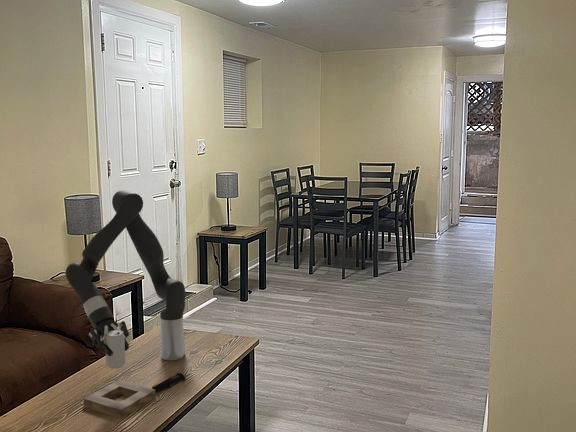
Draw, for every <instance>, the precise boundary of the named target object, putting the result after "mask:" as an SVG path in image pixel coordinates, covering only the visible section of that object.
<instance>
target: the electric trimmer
mask: <svg viewBox="0 0 576 432" xmlns="http://www.w3.org/2000/svg"><path fill="white" fill-rule="evenodd" d="M185 380H186V376H185V375H184V374H183V373H181V372H177V373H175V374H174V375H173V376H170V377H168V378H167V379H165V380H162V381H161V382H160V383H157V384H156V385H154V386H152V387H151V389H155V393H158V392H162V391H164V390H167V389H170V388H171V386H172V385H175V384H177V383H179V382H181V381H185Z"/></svg>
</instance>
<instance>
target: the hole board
mask: <svg viewBox="0 0 576 432" xmlns="http://www.w3.org/2000/svg"><path fill="white" fill-rule="evenodd" d="M119 395H121V396H125V397H127V398H125V399H124V400H122V401H118V400H115V399H114V398H116V397H117V396H119ZM154 399H156V392H155V389H152V387H147V386H143V385H140V384H136V383H132V382H129V381H125V380H121V379H118V380H115V381H114V382H112V383H110V384H109V385H106V386H104V387H103V388H101V389H99V390H97V391H95V392H93V393H91V394H89V395H87V396H86V397H84V398H83V399H82V400H83V408H87V409H90V410H93V411H96V412H100V413H103V414H105V415H106V414H107V415H109V416H112V417H115V418H118V419H123V418H125V417H126V416H127V415H130V414H131V413H132V412H134V411H136V410H137V409H140V408H141V407H143V406H144V405H146V404H148V403H149V402H151V401H153V400H154Z"/></svg>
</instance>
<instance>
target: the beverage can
mask: <svg viewBox="0 0 576 432" xmlns="http://www.w3.org/2000/svg"><path fill="white" fill-rule="evenodd" d="M117 332H119V333H120V334H117ZM105 340H106V342H107V345H108V347H109V348H110V349H111V350H112V351H113V354H112V355H111V356H109V355H107V354H106V353H105V365H106V367H107V368H108V369H120V368H122V367H124V366H125V364H126V351H125V335H124V334H123V331H121V330H120V329H119V330H113V331H109V332H108V333H106V337H105Z"/></svg>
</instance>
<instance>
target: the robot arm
mask: <svg viewBox="0 0 576 432" xmlns="http://www.w3.org/2000/svg"><path fill="white" fill-rule="evenodd" d="M111 201H112V202H111V204H112V205H111V206H112V208H113V210H114V211H115V214H114V216H113V218H112V219H111V220H110V221H108V223H107V224H106V225H105V226H103V227H102V228H101V229H100V230H99V231H97V232H96V234H94V235H93V237H92V238H91V239H90V240H89V242H88V243H87V244H86V246H85V247H84V249H83V250H82V253H81V256H82V260H81V262H72V263H70V264H68V265H67V267H66V269H65V277H66V279H67V282H68V283H69V285H70V286H71V288H72V289H73V291H75V293H76V294H77V296H78V299H79V301H80V303H81V304H82V306H83V308H84V312H85V314H86V316H87V317H88V320H89V321H90V324H91V326H92V328H93V329H91V330H90V331H89V333H88V335H87V336H88V337H89V339H90V340H91V341H92V342H93V344H94V345H95V347H96V348H97V349H98V348H103V350H104V352H105V355H106V354H107V355H109V356H111V355H112V354H113V351H112V350H111V349H110V348H109V347H108V345H107V342H106V340H105V337H106V333H108V332H109V331H113V330H120V331H123V334H124V335H125V352H127V351H128V350H129V349H130V345H129V342H128V341H127V338H128V337H129V336H130V333H129V329H128V327H127V324H126V322H125V321H124V320H122V321H121V322H117V321H116V320H115V318H114V315H113V313H112V312H111V309H110V307H109V305H108V304H107V301H106V300H105V299H104V298H103V296H102V293H101V292H100V289H98V287H97V285H95V284H94V283H93V281H92V279H93V277H94V275H95V274H96V270H97V268H98V266H99V263H100V261H101V260H102V259H103V258H104V256H105V254H106V253H107V252H108V250H109V249H110V247H111V246H112V245H113V243H114V242H115V240H116V239H117V238H118V237H119V236H120V234H121V233H122V232H123V231H124V230H125V229H126V231H127V233H128V235H129V237H130V240H131V241H132V244H133V246H134V248H135V250H136V251H137V254H138V256H139V258H140V260H141V262H142V263H143V266H144V268H145V269H146V272H147V273H148V275H149V278H150V279H151V280H150V281H151V282H152V285H153V288H154V291H155V293H156V295H157V297H158V298H160V300H163V301H165V308H162V309H161V310H160V312H159V314H160V315H159V316H160V318H159V319H160V320H159V321H160V322H159V323H160V353H161V354H160V357H161V359H162V360H165V361H177V360H180V359H182V358H184V356H185V354H186V346H185V345H186V344H185V343H186V342H185V340H186V338H185V337H186V336H185V332H184V312H185V307H186V288H185V284H184V283H183V282H182V281H180V280H177V279H173V278H171V276H170V274H169V273H168V272H167V269H166V268H165V265H164V256H165V255H164V249H163V248H162V245H161V243H160V241H159V239H158V237H157V235H156V234H155V233H154V231H153V230H152V229H151V228H150V227H149V226H148V225H147V223H146V222H145V221H144V219H143V217H141V215H140V213H141V212H142V210H143V207H144V200H143V197H142V196H141V194H138V193H136V192H133V191H130V190H118V191H115V193H114V195H113V197H112V199H111ZM117 334H120V333H119V332H117ZM99 336H100V337H99Z"/></svg>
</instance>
